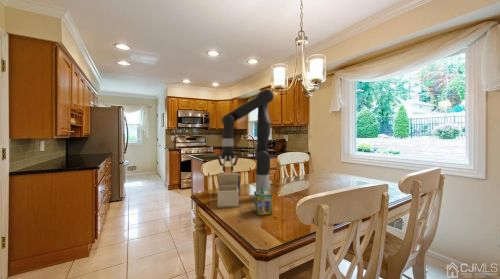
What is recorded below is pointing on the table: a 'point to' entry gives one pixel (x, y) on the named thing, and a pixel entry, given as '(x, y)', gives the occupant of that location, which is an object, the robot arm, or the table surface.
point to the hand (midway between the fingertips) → (227, 171)
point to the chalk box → (262, 202)
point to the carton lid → (228, 177)
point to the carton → (228, 196)
